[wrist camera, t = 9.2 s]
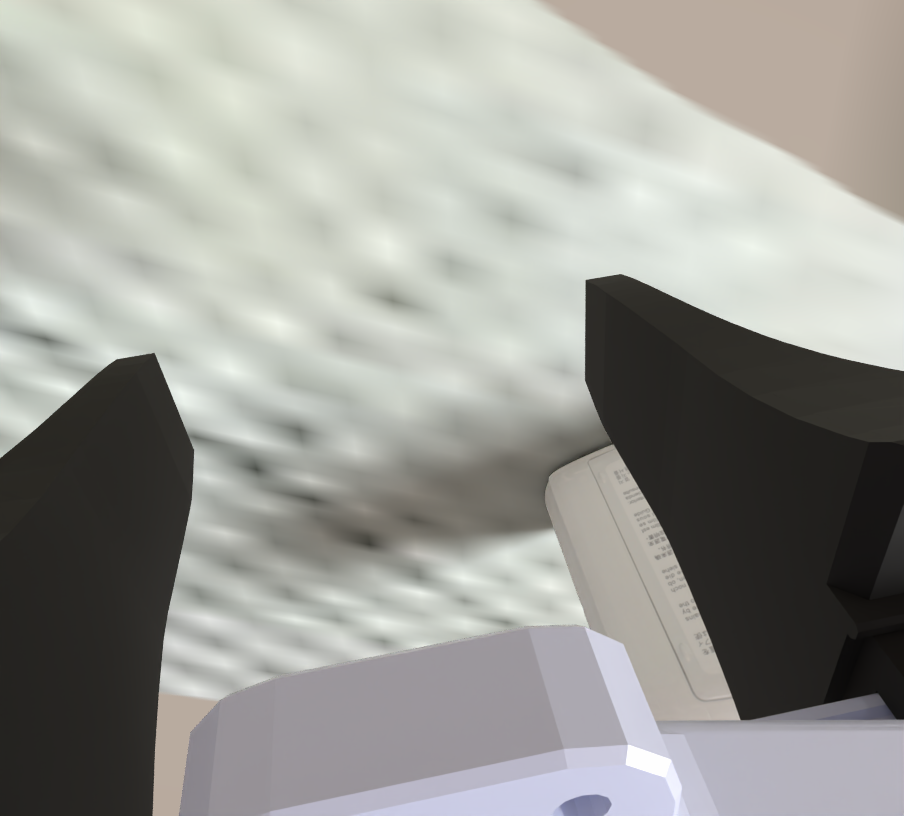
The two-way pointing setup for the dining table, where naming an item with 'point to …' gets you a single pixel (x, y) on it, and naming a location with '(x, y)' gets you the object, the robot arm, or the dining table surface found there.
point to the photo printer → (636, 587)
